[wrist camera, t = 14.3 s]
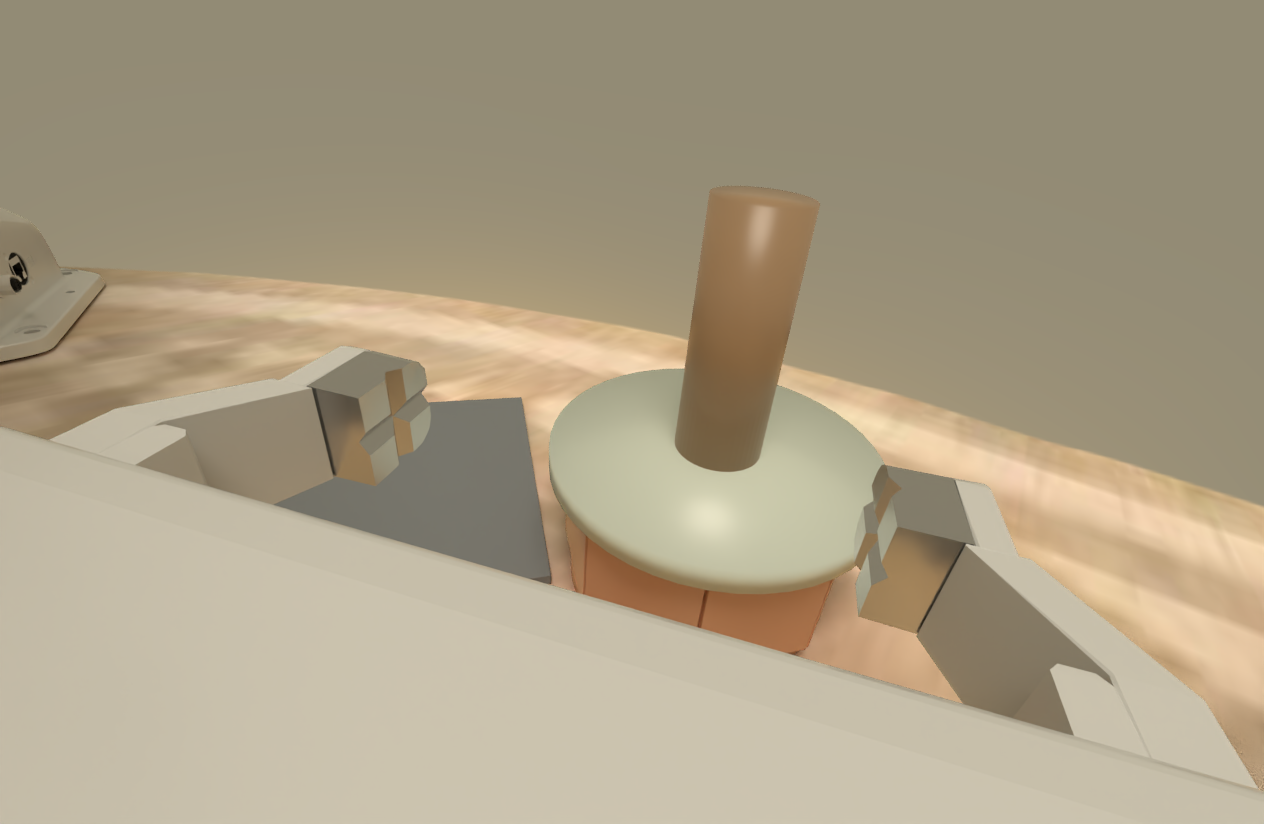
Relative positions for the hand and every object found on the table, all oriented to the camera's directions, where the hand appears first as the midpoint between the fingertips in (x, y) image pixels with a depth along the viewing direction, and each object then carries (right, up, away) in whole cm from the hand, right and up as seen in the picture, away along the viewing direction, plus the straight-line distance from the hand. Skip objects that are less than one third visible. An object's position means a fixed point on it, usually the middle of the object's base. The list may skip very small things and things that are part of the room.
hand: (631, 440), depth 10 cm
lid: (+4, -2, +15) cm, 15 cm away
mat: (-13, -4, +21) cm, 25 cm away
